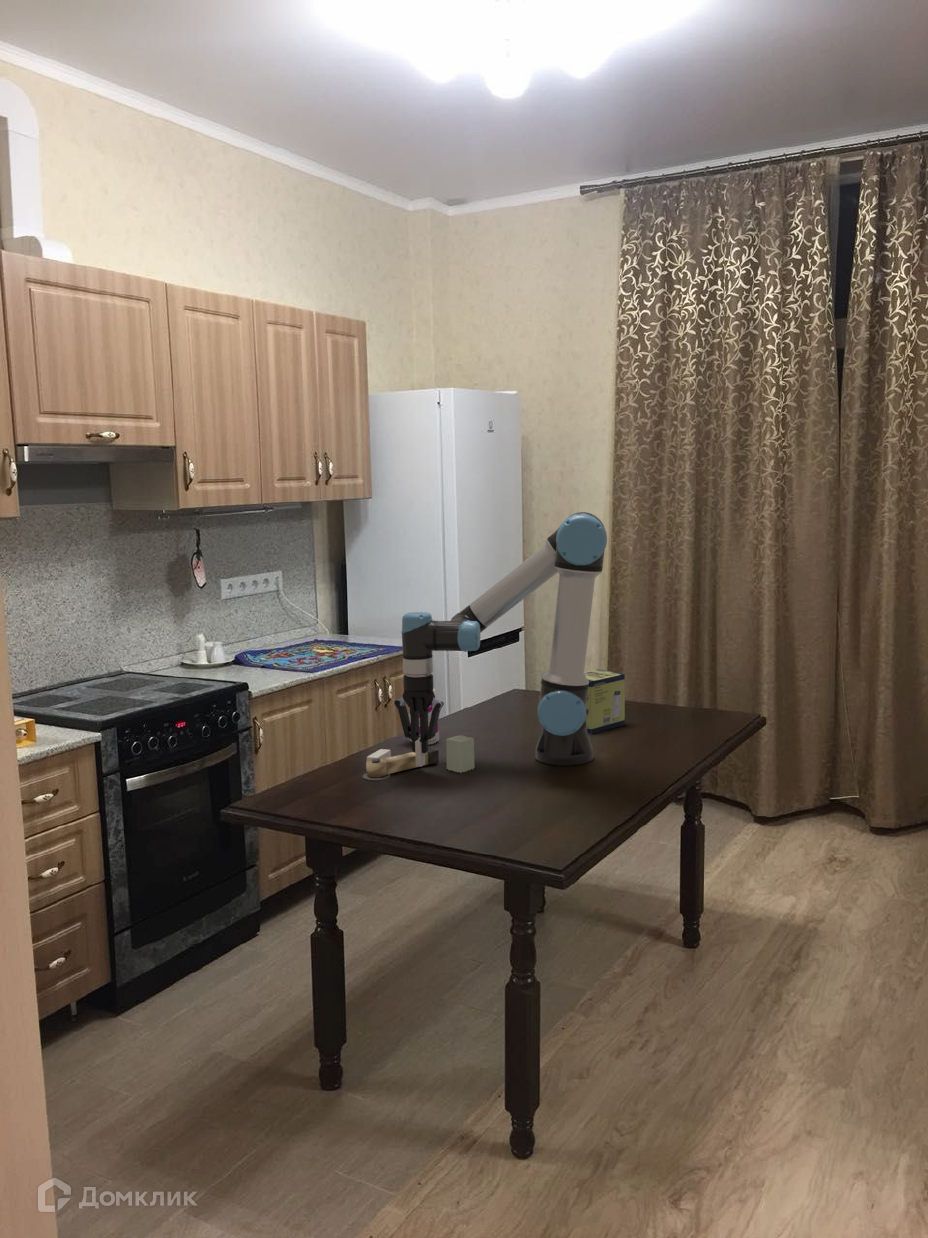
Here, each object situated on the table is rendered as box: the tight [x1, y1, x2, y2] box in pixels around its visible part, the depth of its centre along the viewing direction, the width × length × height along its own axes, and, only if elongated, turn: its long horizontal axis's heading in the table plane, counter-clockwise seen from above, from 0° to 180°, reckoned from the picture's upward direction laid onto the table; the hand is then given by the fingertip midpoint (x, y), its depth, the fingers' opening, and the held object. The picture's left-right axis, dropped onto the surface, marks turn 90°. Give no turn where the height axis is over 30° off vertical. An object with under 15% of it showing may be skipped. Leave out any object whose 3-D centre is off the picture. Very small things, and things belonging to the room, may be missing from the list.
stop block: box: [366, 748, 392, 762], centre depth 271 cm, size 3×8×3 cm, turn 158°
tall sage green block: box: [445, 734, 475, 774], centre depth 266 cm, size 5×5×8 cm
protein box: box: [584, 669, 626, 735], centre depth 305 cm, size 10×16×16 cm
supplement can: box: [408, 687, 440, 746], centre depth 292 cm, size 8×8×15 cm
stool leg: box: [365, 746, 440, 777], centre depth 266 cm, size 20×5×4 cm, turn 129°
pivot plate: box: [362, 772, 392, 781], centre depth 261 cm, size 7×7×1 cm
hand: (420, 765), depth 265 cm, fingers closed
